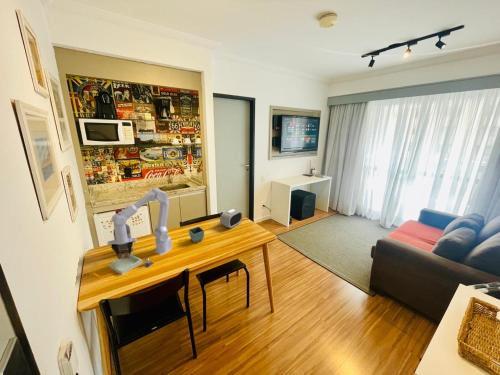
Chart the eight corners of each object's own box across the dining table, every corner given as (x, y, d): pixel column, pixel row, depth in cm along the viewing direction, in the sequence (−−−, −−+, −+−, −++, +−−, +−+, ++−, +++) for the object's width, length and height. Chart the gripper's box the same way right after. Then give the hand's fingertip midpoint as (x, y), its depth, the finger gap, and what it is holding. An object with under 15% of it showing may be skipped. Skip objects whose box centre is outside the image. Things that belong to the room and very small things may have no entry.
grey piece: (148, 261, 129) (148, 255, 128) (154, 264, 127) (153, 257, 125) (141, 265, 125) (140, 259, 123) (146, 268, 122) (146, 262, 121)
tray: (130, 257, 132) (129, 253, 132) (142, 263, 127) (142, 259, 126) (109, 268, 122) (108, 264, 121) (122, 275, 116) (121, 271, 115)
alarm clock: (228, 230, 170) (228, 216, 166) (220, 227, 175) (219, 213, 171) (242, 222, 187) (243, 208, 183) (234, 219, 192) (234, 206, 188)
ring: (130, 252, 125) (130, 248, 125) (128, 258, 120) (127, 254, 119) (120, 253, 124) (119, 249, 123) (117, 260, 118) (116, 255, 117)
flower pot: (194, 245, 148) (193, 234, 145) (188, 240, 154) (188, 229, 152) (204, 241, 153) (204, 230, 151) (199, 236, 160) (198, 226, 157)
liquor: (117, 256, 132) (109, 214, 124) (117, 249, 139) (110, 209, 131) (133, 252, 137) (127, 211, 128) (132, 246, 144) (126, 206, 136)
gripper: (136, 229, 124) (139, 248, 128) (109, 231, 120) (112, 251, 123) (133, 234, 117) (136, 255, 121) (104, 237, 113) (108, 258, 117)
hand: (124, 253), depth 122 cm, fingers closed on ring, 5 cm apart
